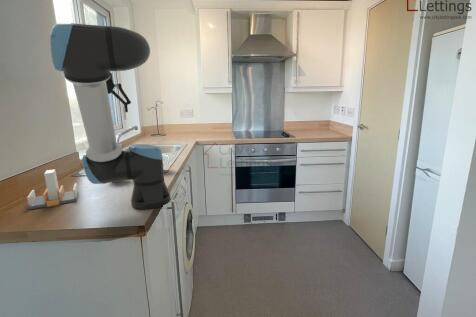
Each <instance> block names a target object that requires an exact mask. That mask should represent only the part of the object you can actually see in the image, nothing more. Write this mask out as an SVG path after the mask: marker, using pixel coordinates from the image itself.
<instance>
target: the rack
mask: <svg viewBox="0 0 476 317" xmlns="http://www.w3.org/2000/svg"><path fill="white" fill-rule="evenodd" d="M58 193H59V199H57V200H51V201H50V200H49V195H48V190H47V188H46V189H45V191H44V192H43V194H42V195H39V196H36V193H35V189H32V190H31V191H30V192H29V194H28V196H27V197H26V199H27V203H28V207H27V208H28V210H34V209H40V208H45V207H47V208H48V207H53V206H54V207H55V206H59V205H63V204H67V203H74V202H78V196H79V190H78V185H77V183H76V182H75V183H74V184H73V189H72V190H69V191H65V189H64V185H60V187H59V192H58Z"/></svg>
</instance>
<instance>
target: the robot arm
mask: <svg viewBox="0 0 476 317" xmlns="http://www.w3.org/2000/svg"><path fill="white" fill-rule="evenodd" d="M51 27H52V28H51V31H50V41H49V42H50V53H51V54H50V55H51V62H52V65H53V67H54V69H55V70H56V71H59V72H63V74H64V78H65V79H66V80H67V81H68V82H70V83H72V85H73V89H74V93H75V97H76V101H77V104H78V107H79V112H80V116H81V120H82V124H83V127H84V131H85V135H86V139H87V143H88V148H87V149H86V151H85V153H84V154H83V155H82V166H83V168H84V170H83V171H84V173H85V175H86V176H85V177H86V178H87V180H88V181H89V182H90V183H91V184H93V185H99V184H101V185H104V184H108V183H109V184H111V183H116V182H117V181H119V182H122V181H123V182H124V181H130V180H132V181H133V188H132V193H131V198H130V206H131V207H132V208H134V209H137V210H150V209H151V210H152V209H156V208H160V207H162V206H165V205H167V204H168V203H170V202H171V200H172V199H171V198H172V197H171V193H170V191H169V189H168V186H167V184H166V182H165V174H164V162H163V163H162V159H163V152H162V149H161V148H160V147H159V146H157V145H153V144H146V143H145V144H141V143H139V144H130V145H128V149H123V147H122V145H121V144H119V142H118V141H117V136H116V132H115V126H114V121H113V120H114V119H113V114H112V108H111V104H110V103H111V102H110V98H109V94H112V95H113V96H114V97H115V98H116V99H117V100H119V102H121V103H122V112H123V120H125V121H126V120H127V114H126V113H128V111H129V108H128V105H130V104H132V102H131V100H130V98H129V97H128V95H127V94H126V92H125V90H124V89H123V86H122V83H121V82H120V83H116V84H115V83H114V77H113V73H112V72H125V71H129V70H134V69H136V68H138V67H141V66H142V65H144V64H145V63H147V61H148V59H149V57H150V53H151V47H150V45H149V42H148V41H147V39H146V37H144V36H143V35H141V34H140V33H138V32H136V31H134V30H132V29H128V28H125V27H122V26H121V27H120V26H115V25H114V26H113V25H112V26H111V25H110V26H109V25H96V24H84V23H74V22H71V23H60V22H59V23H56V24H54V25H52V26H51ZM115 88H116V89H118V90H119V92H120V94H121V95H122V96H123V98H124V99H123V98H122V97H121V96H120V95H119V94H118V93H117V92H116V91H115V90H114V89H115ZM161 152H162V153H161ZM163 160H164V159H163ZM117 183H118V182H117Z"/></svg>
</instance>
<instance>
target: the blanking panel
mask: <svg viewBox="0 0 476 317" xmlns="http://www.w3.org/2000/svg"><path fill="white" fill-rule="evenodd" d="M43 175H44V176H43V177H44V180H45V184H46V189H47V190H48V195H49V200H50V201H51V200H57V199H59V193H58V192H59V190H60V187H59V181H58V177H57V171H56V169H55V168H54V169H46V171H45V172H44V173H43Z"/></svg>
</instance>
